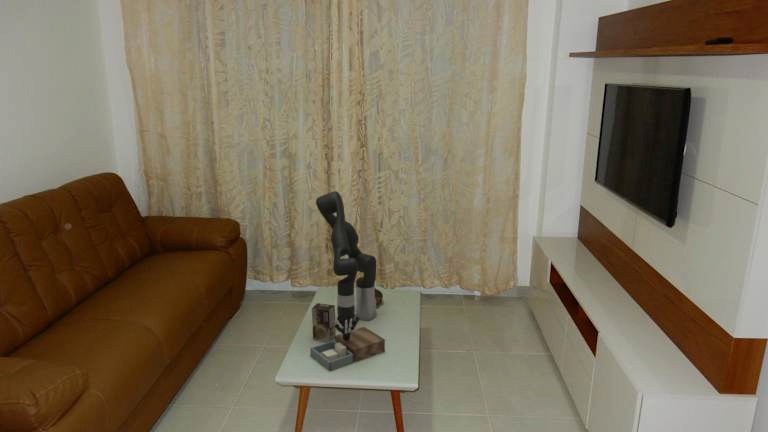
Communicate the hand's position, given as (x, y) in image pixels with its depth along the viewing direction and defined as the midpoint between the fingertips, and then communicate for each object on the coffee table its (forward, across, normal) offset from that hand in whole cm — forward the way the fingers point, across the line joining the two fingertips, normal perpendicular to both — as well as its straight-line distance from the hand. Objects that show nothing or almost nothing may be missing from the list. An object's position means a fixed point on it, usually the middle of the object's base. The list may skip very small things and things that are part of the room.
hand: (346, 340), depth 246 cm
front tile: (+4, +8, 0) cm, 9 cm away
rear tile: (+4, +2, +1) cm, 4 cm away
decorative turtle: (+7, -43, -39) cm, 59 cm away
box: (+7, +7, 0) cm, 10 cm away
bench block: (+7, -7, 0) cm, 10 cm away
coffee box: (+7, 0, -19) cm, 21 cm away
